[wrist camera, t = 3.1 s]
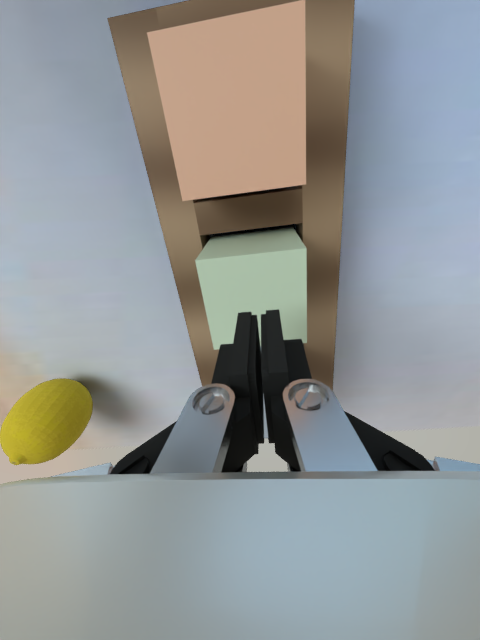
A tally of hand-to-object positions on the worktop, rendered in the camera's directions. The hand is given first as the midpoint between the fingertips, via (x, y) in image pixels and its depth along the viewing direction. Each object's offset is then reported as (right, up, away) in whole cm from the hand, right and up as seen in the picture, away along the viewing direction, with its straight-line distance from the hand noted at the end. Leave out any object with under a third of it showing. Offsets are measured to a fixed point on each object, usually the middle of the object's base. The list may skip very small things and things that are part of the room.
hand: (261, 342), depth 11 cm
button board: (0, +5, +8) cm, 9 cm away
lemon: (-16, -5, +15) cm, 23 cm away
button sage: (0, +4, +6) cm, 8 cm away
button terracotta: (-1, +11, +3) cm, 11 cm away
